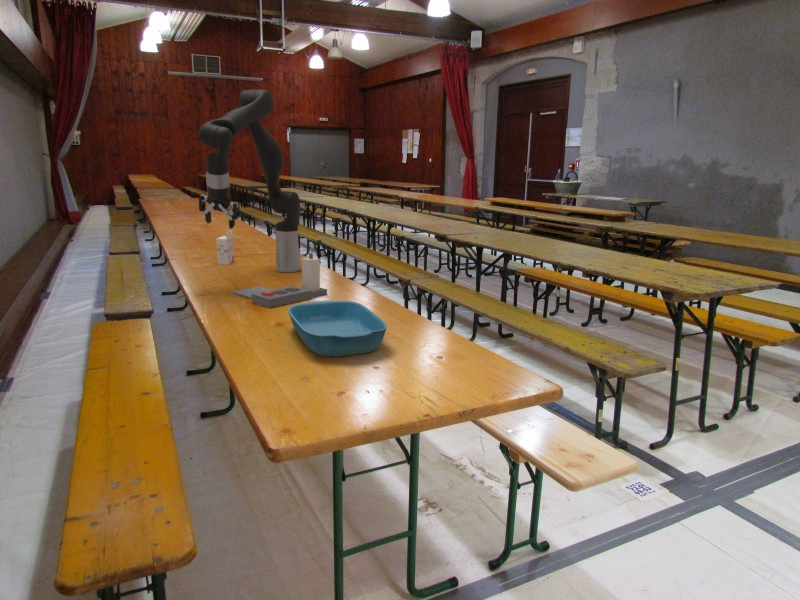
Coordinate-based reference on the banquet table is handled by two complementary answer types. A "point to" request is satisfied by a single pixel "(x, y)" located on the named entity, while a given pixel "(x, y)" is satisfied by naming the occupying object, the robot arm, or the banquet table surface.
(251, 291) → the rubber mat
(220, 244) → the ink cartridge box
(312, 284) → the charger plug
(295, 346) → the banquet table surface
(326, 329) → the casserole dish
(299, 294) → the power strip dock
